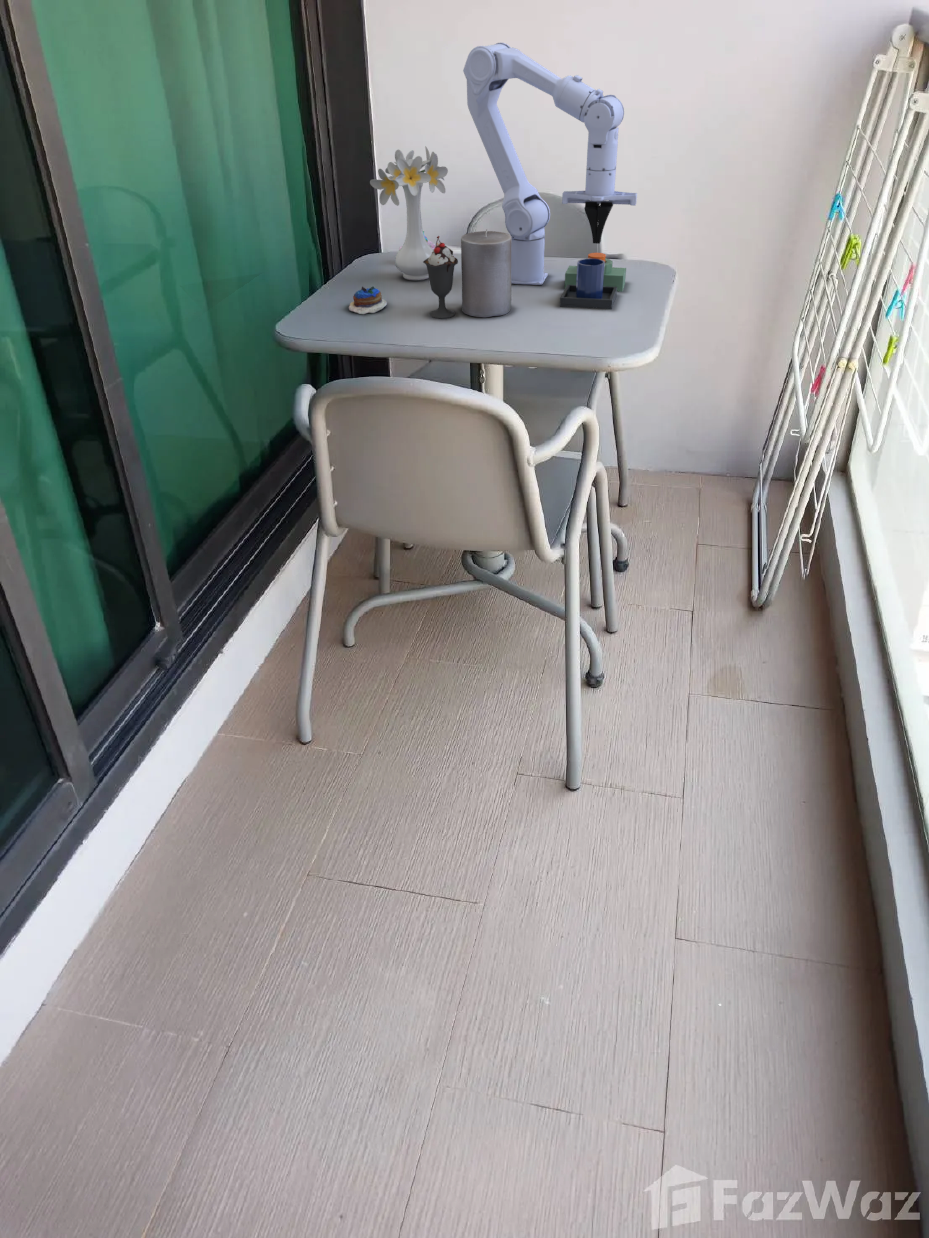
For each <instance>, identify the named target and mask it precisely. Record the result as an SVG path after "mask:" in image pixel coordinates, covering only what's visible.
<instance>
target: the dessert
mask: <svg viewBox="0 0 929 1238" xmlns="http://www.w3.org/2000/svg"><path fill="white" fill-rule="evenodd" d="M352 299H353V301H351V302H350V303H349V306H348V310H349V311H350V312H354V313H356V314H359V315H365V314H368V313H371V314H375V313H377V312H379V311H380V310H382V309H384V307H386V306H387V305H388V302H387V301H386V300H385V299H384V298H383V295H382V292H381V291H380V290H379V289H378V288H376V287H375V286H373V285H372V286H371V287H369V288H366V287H364V286H361V289H359V290H357V291H355V293H354V294H353V295H352Z"/></svg>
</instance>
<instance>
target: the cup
mask: <svg viewBox="0 0 929 1238" xmlns="http://www.w3.org/2000/svg"><path fill="white" fill-rule="evenodd" d="M576 266H577V279H576V298H593V299H602V297H603V284H604V269H605V262H604V261H603V260H600V259H592V258H589V259H586V258H582V259H579V260H578V261H577V263H576Z"/></svg>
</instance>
